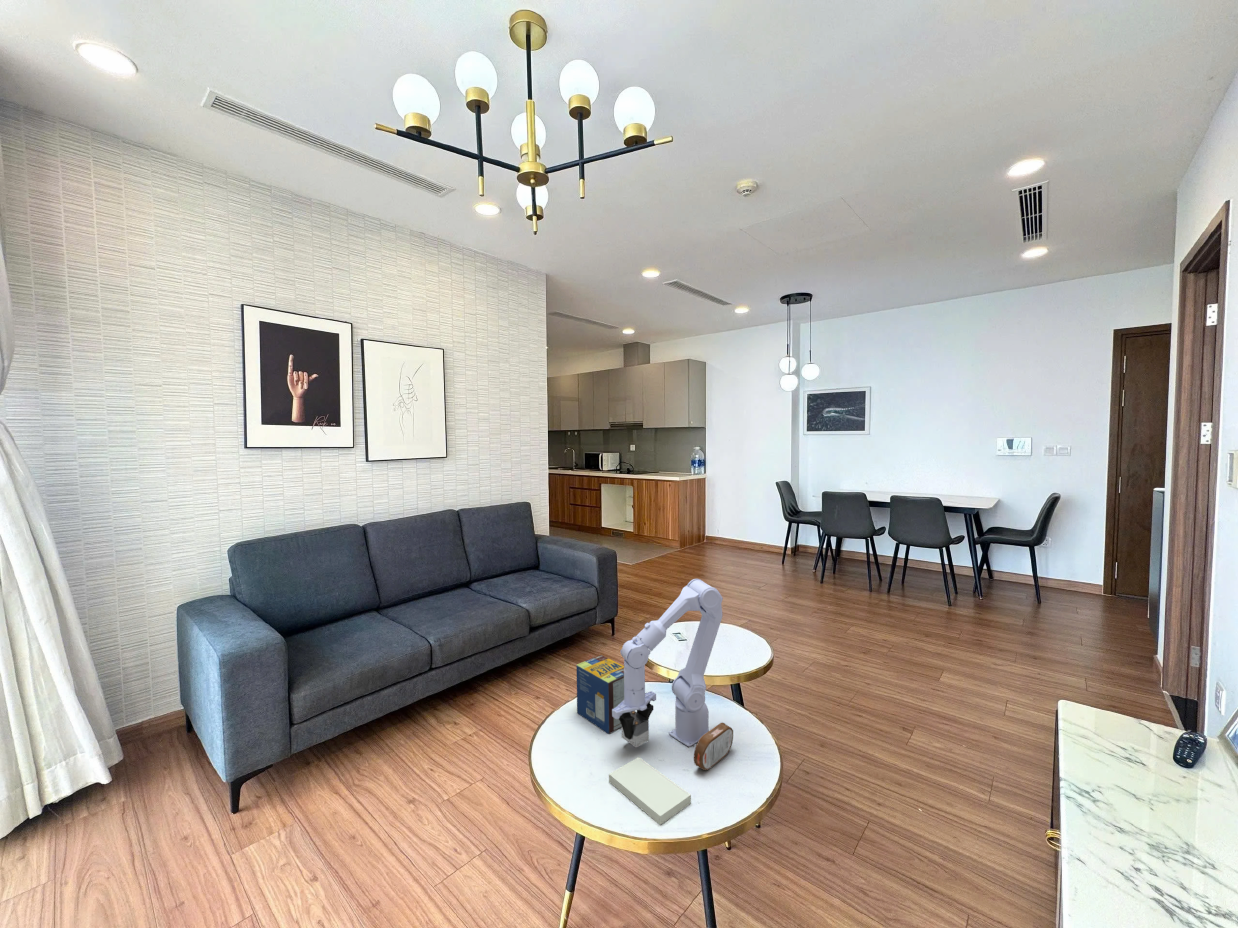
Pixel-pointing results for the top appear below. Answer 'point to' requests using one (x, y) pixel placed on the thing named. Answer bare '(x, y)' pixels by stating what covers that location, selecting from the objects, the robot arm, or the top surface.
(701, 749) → the tin
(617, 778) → the sage stand
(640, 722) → the housing
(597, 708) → the protein box
